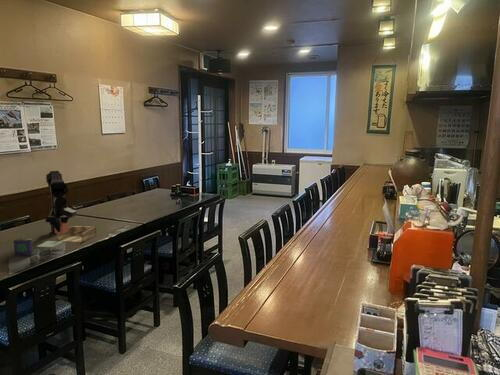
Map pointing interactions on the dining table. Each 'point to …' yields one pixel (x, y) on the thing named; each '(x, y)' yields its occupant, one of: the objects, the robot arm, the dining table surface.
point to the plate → (50, 244)
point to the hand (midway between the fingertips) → (61, 230)
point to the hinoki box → (77, 234)
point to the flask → (23, 247)
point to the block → (63, 227)
